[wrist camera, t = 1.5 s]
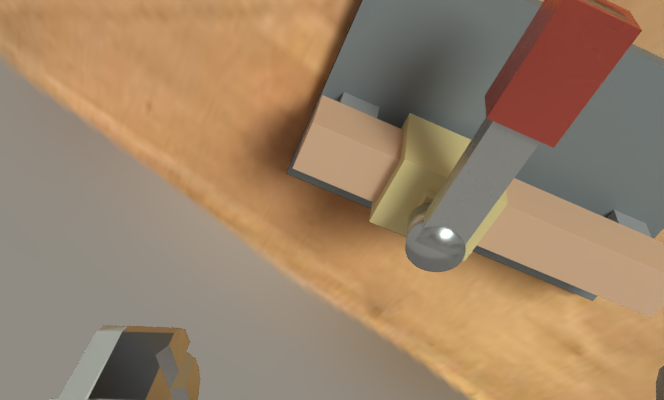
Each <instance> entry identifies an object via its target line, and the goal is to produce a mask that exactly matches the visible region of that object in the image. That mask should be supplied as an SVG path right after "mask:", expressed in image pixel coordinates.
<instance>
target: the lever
mask: <svg viewBox="0 0 664 400" xmlns="http://www.w3.org/2000/svg"><path fill="white" fill-rule="evenodd" d="M641 31H642V30H641V28H640V27H639V25H638V24H637V22H636V21H635V19H634V17H633V16H632V14H631V13H630V11H628V10H626V9H624V8H622V7H620V6H617V5H615V4H613V3H611V2H609V1H607V0H544V2H543V3H542V5H541V7H540V8H539V10H538V11H537V13H536V15H535V16H534V18H533V19H532V21H531V23H530V24H529V26H528V27H527V29H526V30H525V32H524V34H523V35H522V37H521V38H520V40H519V42H518V43H517V45H516V46H515V48H514V50H513V51H512V53H511V54H510V56H509V58H508V59H507V61H506V62H505V64H504V66H503V67H502V69H501V70H500V72H499V74H498V75H497V77H496V78H495V80H494V82H493V83H492V85H491V86H490V88H489V90H488V91H487V93H486V94H485V107H486V118H485V120H484V122H483V123H482V125H481V126H480V128H479V129H478V131H477V132H476V134H475V136H474V137H473V139H472V140H471V142H470V143H469V145H468V146H467V148H466V150H465V151H464V153H463V154H462V156H461V157H460V159H459V160H458V162H457V164H456V165H455V167H454V168H453V170H452V171H451V173H450V174H449V176H448V178H447V179H446V181H445V182H444V184H443V185H442V187H441V188H440V190H439V192H438V193H437V195H436V196H435V198H434V199H433V201H432V202H428V203H424V204H422V205H420V206H418V207H417V208H415V209H414V210H413V211H412V212H411V214H410V216H409V218H408V224H407V235H406V247H405V248H406V254H407V257H408V259H409V260H410V261H411V262H412V263H413V264H414V265H415V266H417V267H418V268H420V269H423V270H426V271H430V272H443V271H447V270H450V269H452V268H454V267H456V266H457V265H458V264H460V262H461V261H462V260H463V258H464V256H465V252H466V244H467V242H468V241H469V239H470V238H471V237H472V235H473V234H474V233H475V231H476V230H477V228H478V227H479V226H480V224H481V223H482V222H483V220H484V219H485V217H486V216H487V215H488V213H489V212H490V211H491V209H492V208H493V206H494V205H495V204H496V202H497V201H498V200H499V198H500V197H501V195H502V194H503V193H504V191H505V190H506V189H507V187H508V186H509V184H510V183H511V182H512V180H513V179H514V178H515V176H516V175H517V173H518V172H519V171H520V169H521V168H522V167H523V165H524V164H525V162H526V161H527V160H528V158H529V157H530V156H531V154H532V153H533V151H534V150H535V149H536V147H537V146H538V145H539V143H540V142H541V143H544V144H546V145H548V146H550V147H553V148H554V147H555V146H556V144H557V143H558V142H559V140H560V139H561V138H562V136H563V135H564V134H565V132H566V131H567V130H568V128H569V127H570V126H571V124H572V123H573V122H574V120H575V119H576V118H577V116H578V115H579V114H580V112H581V111H582V110H583V108H584V107H585V106H586V104H587V103H588V102H589V100H590V99H591V98H592V96H593V95H594V94H595V92H596V91H597V90H598V88H599V87H600V86H601V84H602V83H603V82H604V80H605V79H606V78H607V76H608V75H609V74H610V72H611V71H612V70H613V68H614V67H615V66H616V64H617V63H618V62H619V60H620V59H621V58H622V56H623V55H624V54H625V52H626V51H627V50H628V48H629V47H630V46H631V44H632V43H633V42H634V40H635V39H636V38H637V36H638V35H639V34H640V32H641Z"/></svg>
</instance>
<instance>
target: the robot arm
mask: <svg viewBox="0 0 664 400" xmlns="http://www.w3.org/2000/svg"><path fill="white" fill-rule="evenodd" d="M189 343H190V340H189V338H188V335H187V333H186V330H185V329H182V328H169V327H143V326H109V325H103V326H102V327H101V328H100V329H98V330H97V331H96V332H95V334H94V336H93V337H92V339H91V341H90V343H89V345H88V346H87V348H86V350H85V352H84V354H83V355H82V357H81V359H80V361H79V362H78V364H77V366H76V368H75V369H74V372H73V373H72V375H71V377H70V378H69V380H68V382H67V384H66V386H65V387H64V389H63V391H62V393H61V394H60V396H59V398H58V399H50V400H197V399H198V395H199V385H200V373H199V366H198V364H197V360H196V358H195V357H193V356H192V355H191V354H189V353H188V352H187V349H188V346H189ZM656 400H664V366H663V367H661V368H660V369H659V372H658V377H657V381H656Z"/></svg>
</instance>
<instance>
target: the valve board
mask: <svg viewBox="0 0 664 400" xmlns="http://www.w3.org/2000/svg"><path fill="white" fill-rule="evenodd" d="M542 3H543V2H541V1H539V0H362V1H361V3H360V6H359V8H358V10H357V13H356V15H355V17H354V19H353V22H352V24H351V26H350V29H349V31H348V33H347V35H346V38H345V40H344V42H343V45H342V47H341V49H340V51H339V54H338V56H337V58H336V60H335V63H334V65H333V67H332V70H331V72H330V74H329V76H328V79H327V81H326V83H325V86H324V88H323V90H322V92H321V95H320V97H319V99H318V102H317V104H316V106H315V108H314V111H313V113H312V115H311V118H310V120H309V122H308V124H307V127H306V129H305V131H304V134H303V136H302V138H301V140H300V143H299V145H298V147H297V150H296V152H295V154H294V156H293V159H292V161H291V163H290V166H289V169H288V171H287V174H289V175H291V176H294V177H296V178H298V179H301V180H303V181H306V182H308V183H310V184H313V185H315V186H318V187H320V188H322V189H325V190H327V191H330V192H332V193H334V194H337V195H339V196H342V197H344V198H346V199H349V200H351V201H354V202H356V203H358V204H361V205H363V206H366V207H368V208H371V212H370V218H369V222H371V223H373V224H376V225H378V226H381V227H383V228H386V229H388V230H390V231H393V232H395V233H398V234H400V235H402V236H405V237H406V235H407V224H408V218H409V216H410V214H411V212H412V211H413V210H414V209H415V208H417V207H418V206H420V205H422V204H424V203H428V202H432V201H433V199H434V198H435V196H436V195H437V193H438V192H439V190H440V188H441V187H442V185H443V184H444V182H445V181H446V179H447V178H448V176H449V174H450V173H451V171H452V170H453V168H454V167H455V165H456V164H457V162H458V160H459V159H460V157H461V156H462V154H463V153H464V151H465V150H466V148H467V146H468V145H469V143H470V142H471V140H472V139H473V137H474V136H475V134H476V132H477V131H478V129H479V128H480V126H481V125H482V123H483V122H484V120H485V118H486V107H485V94H486V93H487V91H488V90H489V88H490V86H491V85H492V83H493V82H494V80H495V78H496V77H497V75H498V74H499V72H500V70H501V69H502V67H503V66H504V64H505V62H506V61H507V59H508V58H509V56H510V54H511V53H512V51H513V50H514V48H515V46H516V45H517V43H518V42H519V40H520V38H521V37H522V35H523V34H524V32H525V30H526V29H527V27H528V26H529V24H530V23H531V21H532V19H533V18H534V16H535V15H536V13H537V11H538V10H539V8H540V7H541V5H542ZM663 228H664V59H662V58H660V57H658V56H656V55H654V54H652V53H650V52H648V51H645V50H643V49H641V48H639V47H637V46H635V45H633V44H631V46H630V47H629V48H628V50H627V51H626V52H625V54H624V55H623V56H622V58H621V59H620V60H619V62H618V63H617V64H616V66H615V67H614V68H613V70H612V71H611V72H610V74H609V75H608V76H607V78H606V79H605V80H604V82H603V83H602V84H601V86H600V87H599V88H598V90H597V91H596V92H595V94H594V95H593V96H592V98H591V99H590V100H589V102H588V103H587V104H586V106H585V107H584V108H583V110H582V111H581V112H580V114H579V115H578V116H577V118H576V119H575V120H574V122H573V123H572V124H571V126H570V127H569V128H568V130H567V131H566V132H565V134H564V135H563V136H562V138H561V139H560V140H559V142H558V143H557V144H556V146H555V147H554V148H553V147H550V146H548V145H546V144H544V143H541V142H540V143H539V145H538V146H537V147H536V149H535V150H534V151H533V153H532V154H531V156H530V157H529V158H528V160H527V161H526V162H525V164H524V165H523V167H522V168H521V169H520V171H519V172H518V173H517V175H516V176H515V178H514V179H513V180H512V182H511V183H510V184H509V186H508V187H507V189H506V190H505V191H504V193H503V194H502V195H501V197H500V198H499V200H498V201H497V202H496V204H495V205H494V206H493V208H492V209H491V211H490V212H489V213H488V215H487V216H486V217H485V219H484V220H483V222H482V223H481V224H480V226H479V227H478V228H477V230H476V231H475V233H474V234H473V235H472V237H471V238H470V239H469V241H468V242H467V244H466V252H465V256H464V258H463V261H465V260H466V259H467V258H468V256H469V255H470V254H471V252H472V251H474V252H476V253H479V254H481V255H484V256H486V257H488V258H491V259H493V260H496V261H498V262H500V263H503V264H505V265H508V266H510V267H512V268H515V269H517V270H520V271H522V272H524V273H527V274H529V275H532V276H534V277H536V278H539V279H541V280H544V281H546V282H548V283H551V284H553V285H556V286H558V287H560V288H563V289H565V290H568V291H570V292H572V293H575V294H577V295H580V296H582V297H584V298H587V299H589V300H592V301H593V300H594V299H595V298H596V297H597V296H599V297H602V298H604V299H606V300H609V301H611V302H614V303H616V304H618V305H621V306H623V307H626V308H628V309H630V310H633V311H635V312H638V313H640V314H642V315H645V316H647V317H650V318H651V317H652V316H653V315H654V314H655V313H656V312H657V311H659V310H660V309H661V308H662V307H663V306H664V243H663V242H661V241H658V240H656V239H654V238H655V237H656V236H657V235H658V234H659V233H660V232H661V231H662V229H663Z"/></svg>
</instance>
